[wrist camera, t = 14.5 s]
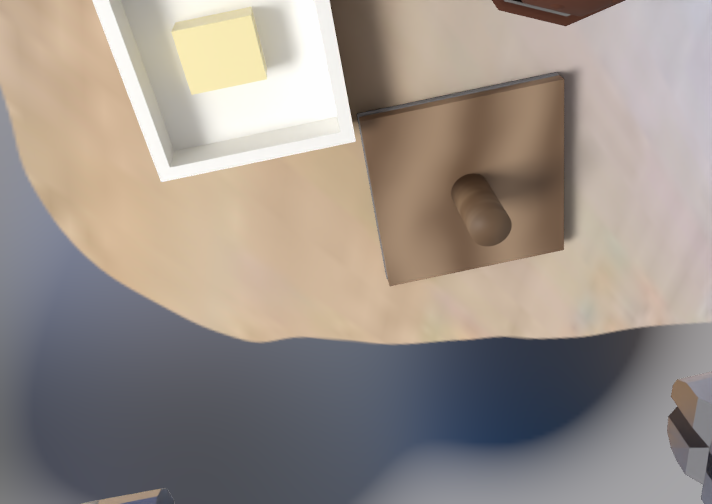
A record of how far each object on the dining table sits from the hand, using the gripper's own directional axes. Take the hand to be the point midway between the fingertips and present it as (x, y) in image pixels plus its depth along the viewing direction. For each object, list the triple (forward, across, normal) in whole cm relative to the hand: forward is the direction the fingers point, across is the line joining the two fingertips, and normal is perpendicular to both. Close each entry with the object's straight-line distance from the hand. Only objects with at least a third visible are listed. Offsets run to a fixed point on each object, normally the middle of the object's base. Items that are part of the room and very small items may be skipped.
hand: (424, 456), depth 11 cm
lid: (+33, -8, +14) cm, 36 cm away
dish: (+33, +5, +2) cm, 34 cm away
